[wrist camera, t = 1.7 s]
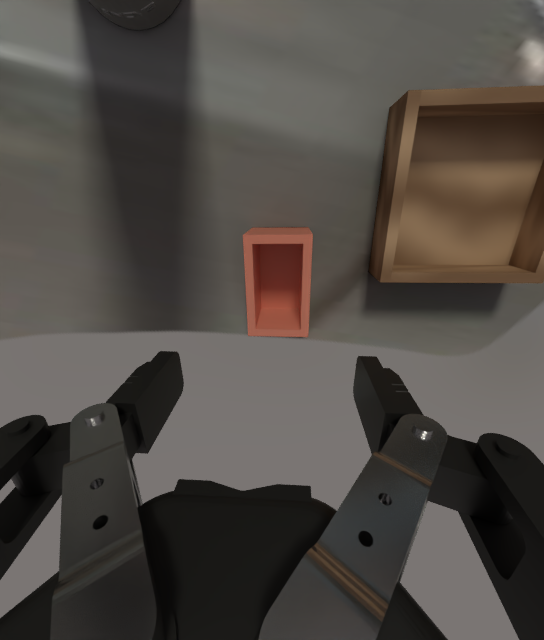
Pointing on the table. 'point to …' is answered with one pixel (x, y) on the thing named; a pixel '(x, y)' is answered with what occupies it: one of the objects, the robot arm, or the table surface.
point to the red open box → (278, 280)
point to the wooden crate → (462, 188)
